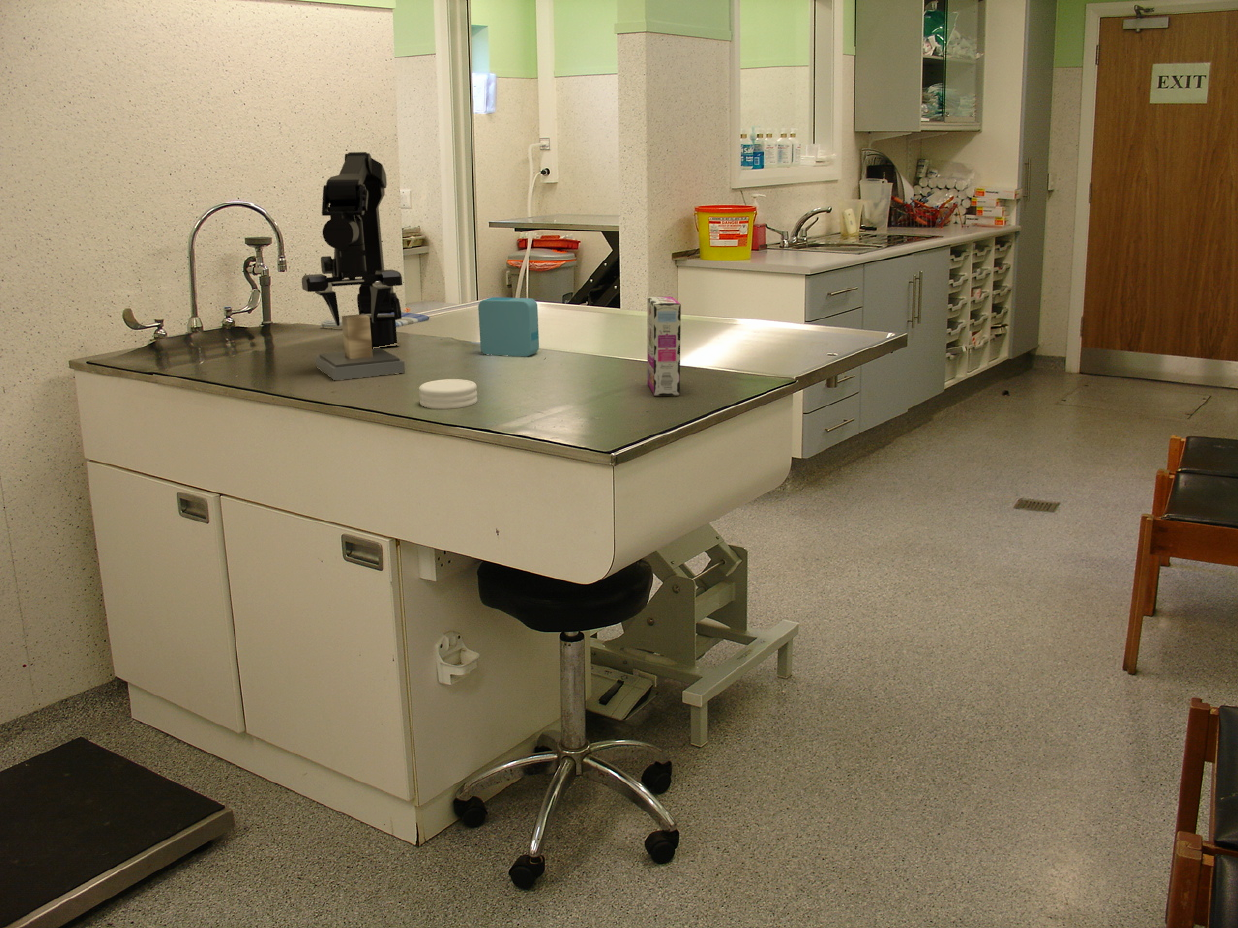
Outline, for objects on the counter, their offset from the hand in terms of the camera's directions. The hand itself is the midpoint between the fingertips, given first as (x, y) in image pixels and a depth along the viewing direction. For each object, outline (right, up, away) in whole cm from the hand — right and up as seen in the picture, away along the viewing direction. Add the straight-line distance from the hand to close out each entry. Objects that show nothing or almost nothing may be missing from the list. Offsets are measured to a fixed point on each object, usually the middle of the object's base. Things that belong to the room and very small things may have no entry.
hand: (355, 324), depth 217 cm
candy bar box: (+61, -15, -21) cm, 66 cm away
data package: (+29, -4, +18) cm, 34 cm away
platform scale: (0, -9, +3) cm, 10 cm away
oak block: (0, -6, +2) cm, 6 cm away
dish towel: (-10, +8, +65) cm, 66 cm away
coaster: (+23, -18, -27) cm, 40 cm away
